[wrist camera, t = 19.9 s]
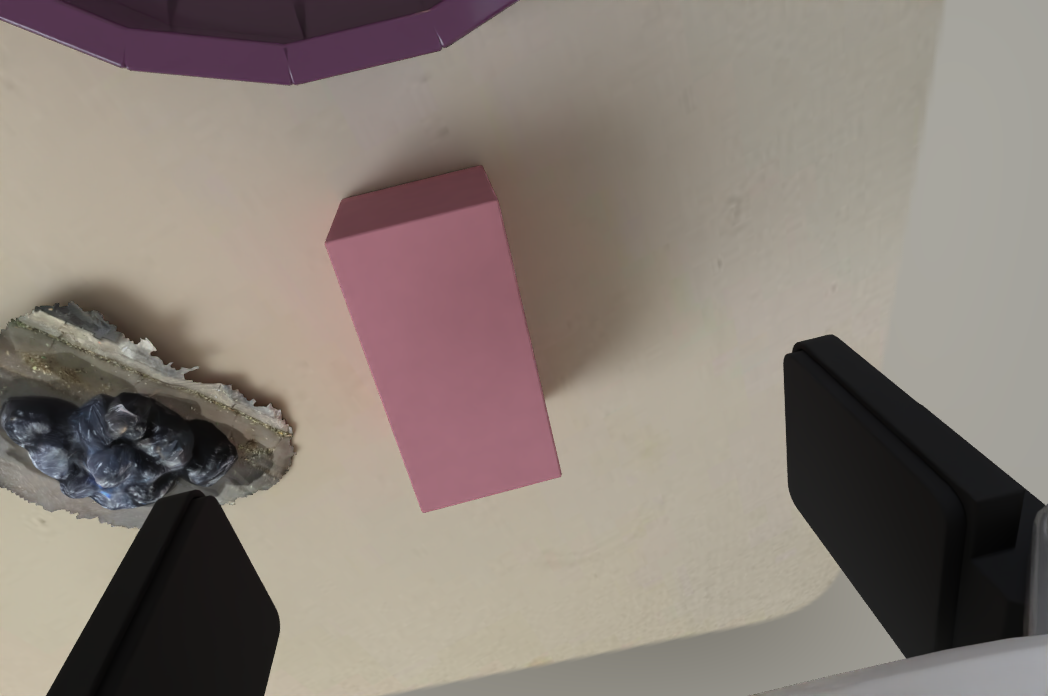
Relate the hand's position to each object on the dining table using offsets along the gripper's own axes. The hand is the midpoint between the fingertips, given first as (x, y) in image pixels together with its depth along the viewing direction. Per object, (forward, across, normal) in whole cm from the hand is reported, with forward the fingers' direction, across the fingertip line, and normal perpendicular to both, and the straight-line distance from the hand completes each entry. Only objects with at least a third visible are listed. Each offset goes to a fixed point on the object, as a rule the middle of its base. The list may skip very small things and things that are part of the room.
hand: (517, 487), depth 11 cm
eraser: (+8, +1, 0) cm, 8 cm away
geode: (+8, +10, +1) cm, 12 cm away
